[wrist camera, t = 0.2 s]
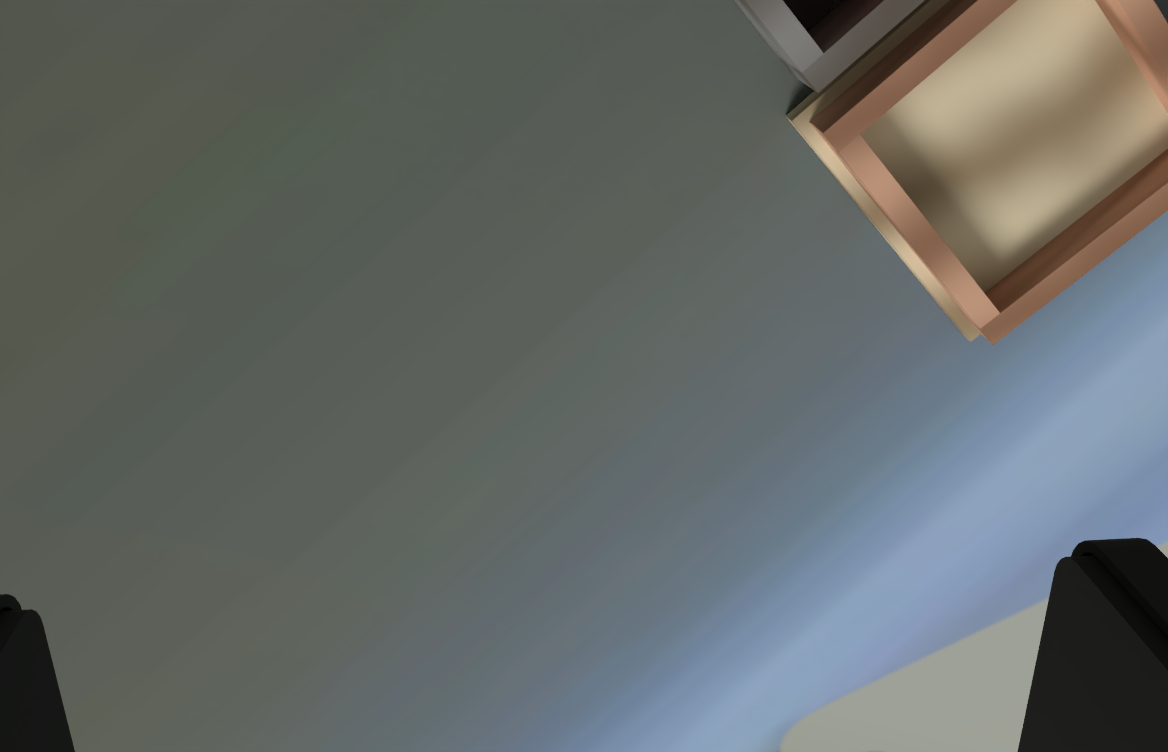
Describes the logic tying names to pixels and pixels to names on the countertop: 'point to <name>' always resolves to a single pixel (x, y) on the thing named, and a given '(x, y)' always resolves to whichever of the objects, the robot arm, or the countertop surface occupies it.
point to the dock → (987, 136)
